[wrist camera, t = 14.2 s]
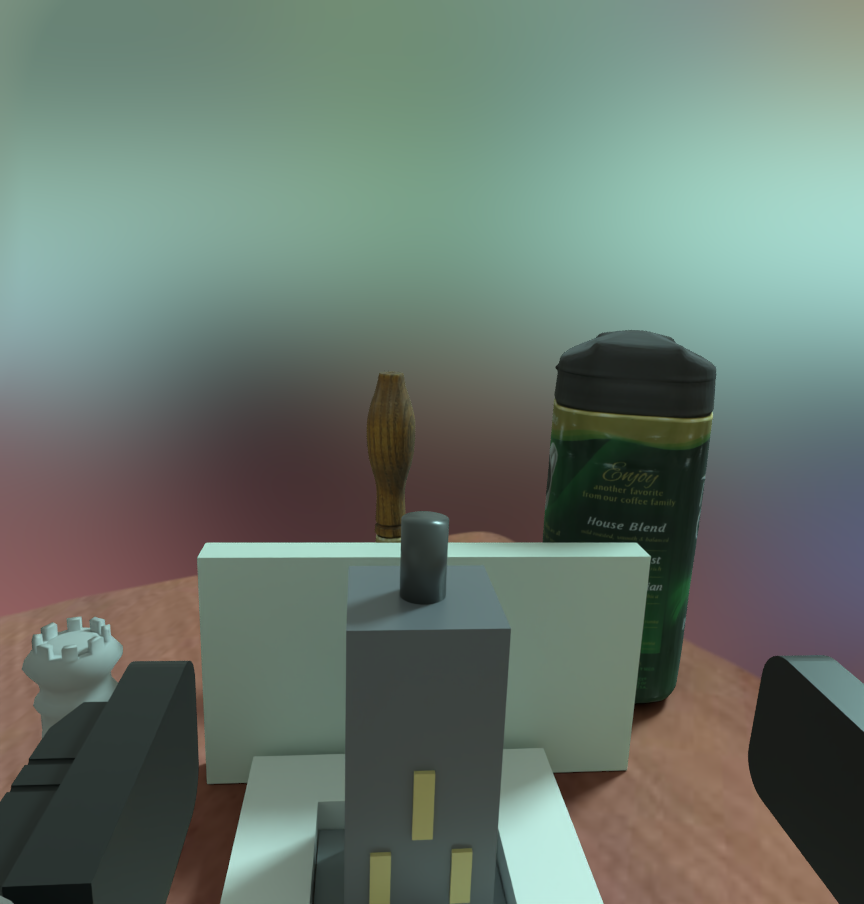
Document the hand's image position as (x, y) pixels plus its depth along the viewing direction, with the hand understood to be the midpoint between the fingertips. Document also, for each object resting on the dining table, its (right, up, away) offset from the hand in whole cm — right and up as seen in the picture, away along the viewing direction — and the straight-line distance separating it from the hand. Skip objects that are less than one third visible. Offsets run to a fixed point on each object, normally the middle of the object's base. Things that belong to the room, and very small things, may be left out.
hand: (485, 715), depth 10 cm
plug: (-1, -11, +14) cm, 18 cm away
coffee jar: (+9, -8, +31) cm, 33 cm away
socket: (-1, -11, +15) cm, 19 cm away
